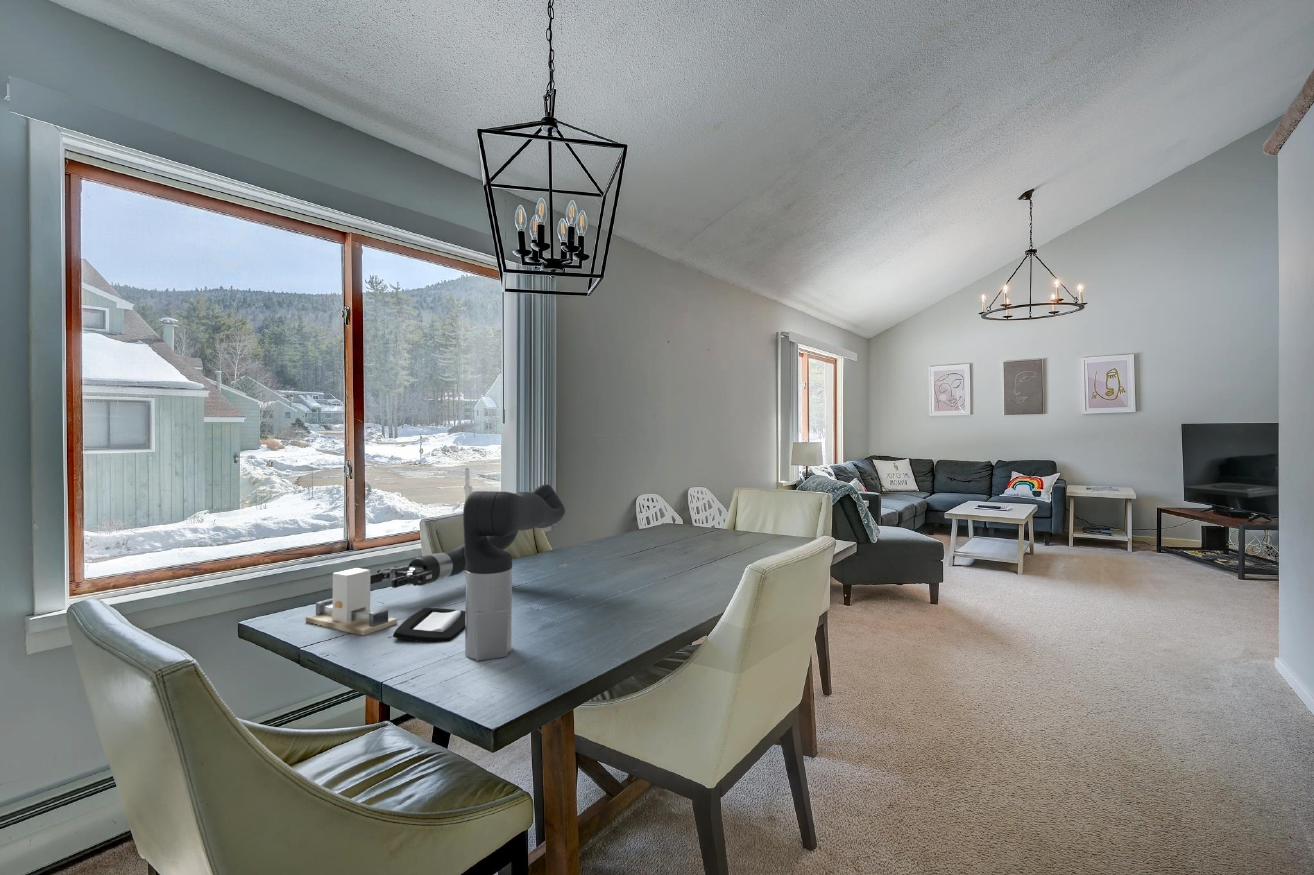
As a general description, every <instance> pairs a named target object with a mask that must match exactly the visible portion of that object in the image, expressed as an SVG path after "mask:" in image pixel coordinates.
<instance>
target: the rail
mask: <svg viewBox="0 0 1314 875" xmlns="http://www.w3.org/2000/svg"><path fill="white" fill-rule="evenodd" d="M332 609H333V597H332V598H328V599H325V600H321V601H317V602H315V614H317V615H322V614H324V615H328V616H332ZM388 617H389V609H387V608H382V609H380V610H376V611H372V610H370V611H368V610H363V609H357V610H353V611H351V621H356V622H360V623H365V624H369V626H371V627H374V626H377V625H380V624H383V623H386V622H388Z"/></svg>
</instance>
